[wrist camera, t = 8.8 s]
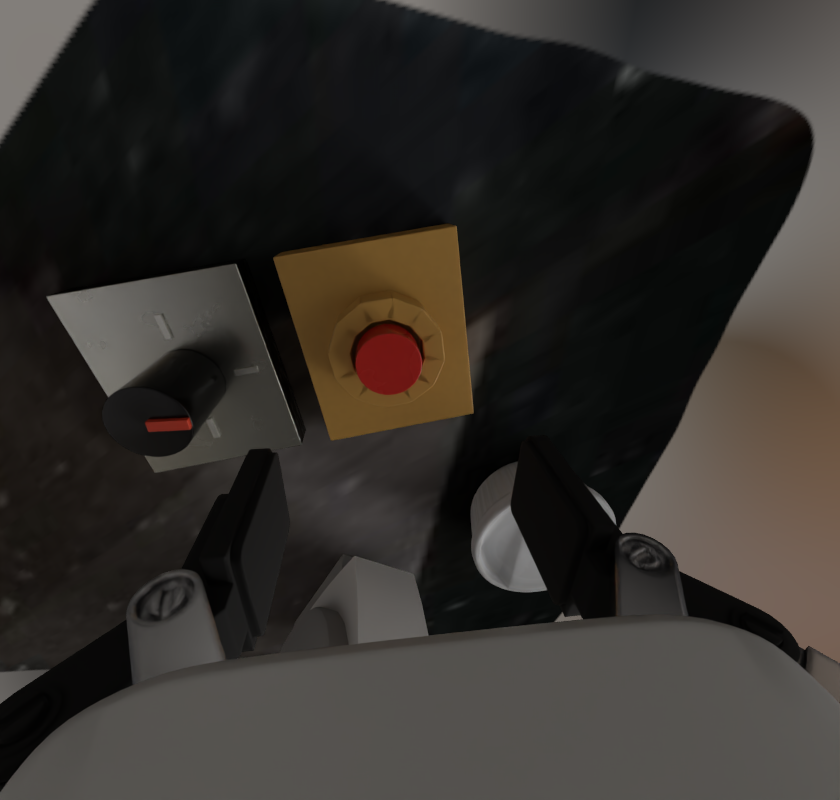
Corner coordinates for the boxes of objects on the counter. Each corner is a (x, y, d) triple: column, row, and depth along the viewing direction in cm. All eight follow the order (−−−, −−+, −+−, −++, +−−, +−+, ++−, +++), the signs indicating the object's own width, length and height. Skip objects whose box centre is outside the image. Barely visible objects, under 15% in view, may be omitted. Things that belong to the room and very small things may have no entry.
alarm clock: (340, 656, 41) (321, 1000, 24) (263, 640, 38) (175, 1018, 21) (428, 548, 35) (491, 903, 17) (344, 520, 32) (318, 911, 15)
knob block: (280, 252, 22) (264, 262, 19) (448, 223, 23) (464, 227, 19) (333, 424, 28) (328, 457, 24) (466, 399, 28) (480, 427, 25)
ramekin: (438, 482, 32) (451, 531, 27) (563, 424, 30) (599, 464, 26) (486, 559, 37) (503, 611, 32) (595, 512, 36) (629, 559, 31)
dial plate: (70, 288, 22) (42, 296, 20) (246, 258, 22) (234, 263, 20) (168, 455, 27) (153, 475, 26) (306, 429, 28) (301, 446, 26)
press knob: (349, 329, 21) (348, 340, 20) (413, 318, 21) (417, 327, 20) (363, 387, 23) (363, 400, 21) (422, 376, 23) (426, 388, 21)
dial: (164, 411, 24) (115, 463, 19) (143, 350, 22) (83, 392, 17) (232, 408, 24) (200, 458, 19) (217, 348, 22) (177, 388, 18)
